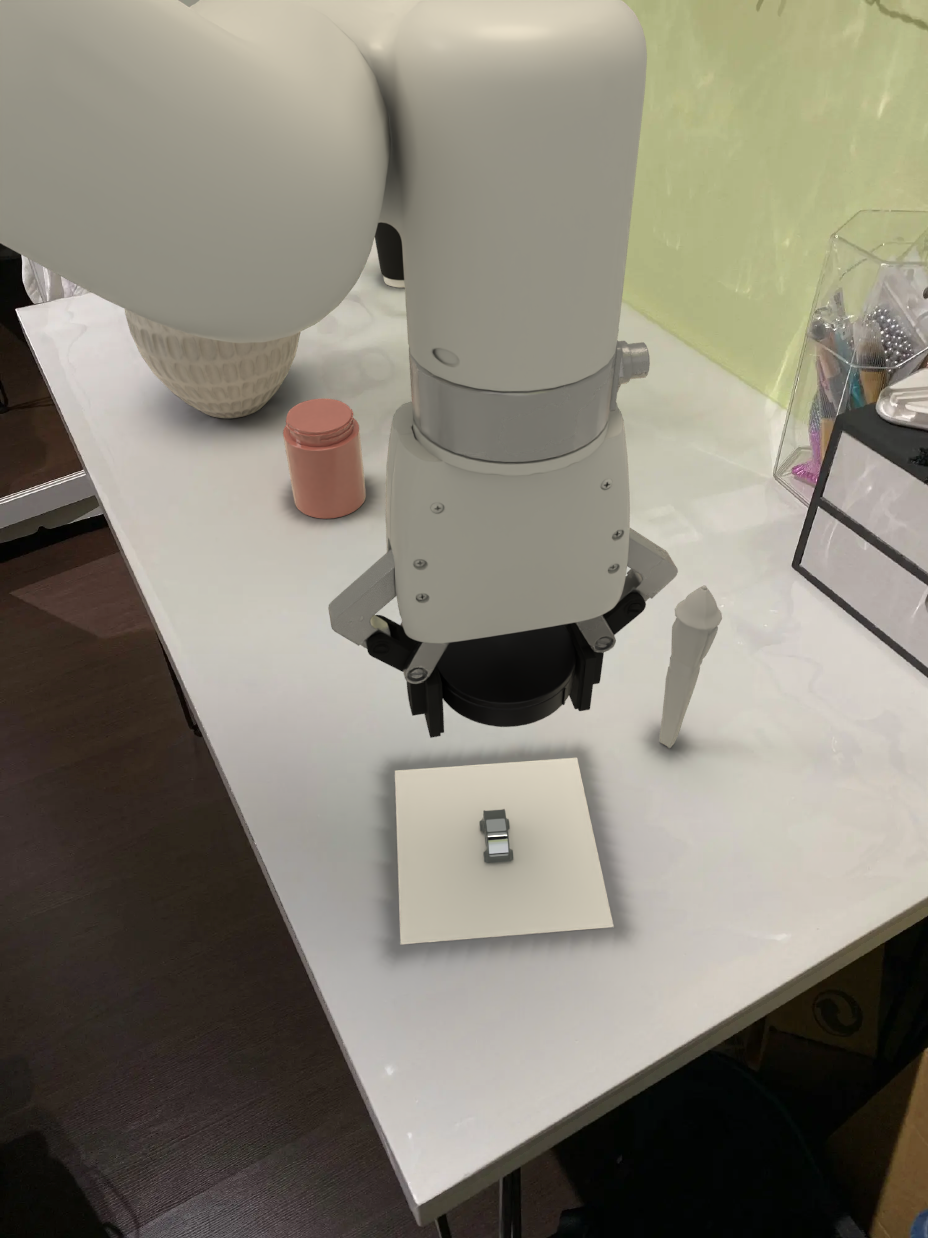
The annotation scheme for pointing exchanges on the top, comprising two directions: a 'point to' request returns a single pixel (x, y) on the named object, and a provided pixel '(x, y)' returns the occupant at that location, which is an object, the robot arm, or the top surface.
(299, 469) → the cream jar
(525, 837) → the cream paper sheet
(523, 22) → the robot arm
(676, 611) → the grey tapered bar
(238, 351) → the vase
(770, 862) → the top surface
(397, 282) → the dixie cup
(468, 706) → the jar lid
